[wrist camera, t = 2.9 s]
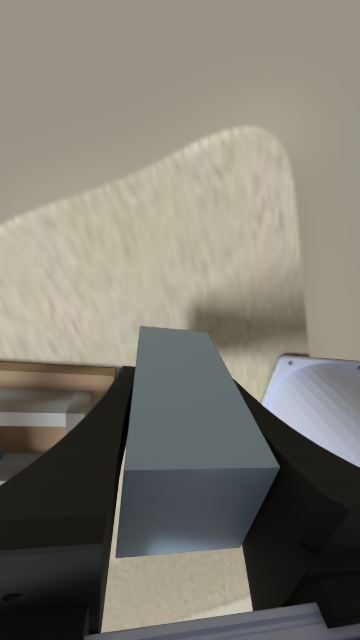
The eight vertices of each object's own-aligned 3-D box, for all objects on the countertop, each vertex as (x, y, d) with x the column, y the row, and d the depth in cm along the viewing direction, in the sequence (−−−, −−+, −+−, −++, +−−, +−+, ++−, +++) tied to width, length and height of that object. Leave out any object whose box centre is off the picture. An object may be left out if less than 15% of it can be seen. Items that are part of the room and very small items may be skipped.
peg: (207, 332, 13) (280, 467, 6) (195, 385, 14) (239, 547, 7) (140, 325, 12) (124, 470, 5) (134, 382, 14) (115, 558, 6)
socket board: (115, 368, 17) (108, 397, 14) (110, 461, 21) (103, 498, 18) (-46, 358, 15) (-93, 390, 12) (-18, 463, 19) (-48, 505, 16)
